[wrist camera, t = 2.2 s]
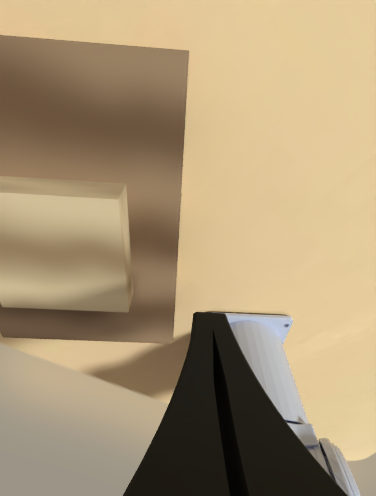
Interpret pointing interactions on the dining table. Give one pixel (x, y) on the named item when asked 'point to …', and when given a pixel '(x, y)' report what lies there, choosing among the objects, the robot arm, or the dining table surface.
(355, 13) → the dining table surface
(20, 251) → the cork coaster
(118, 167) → the walnut board
